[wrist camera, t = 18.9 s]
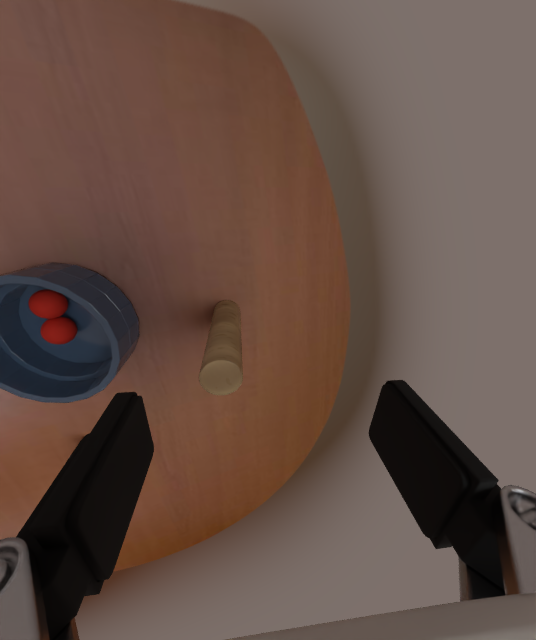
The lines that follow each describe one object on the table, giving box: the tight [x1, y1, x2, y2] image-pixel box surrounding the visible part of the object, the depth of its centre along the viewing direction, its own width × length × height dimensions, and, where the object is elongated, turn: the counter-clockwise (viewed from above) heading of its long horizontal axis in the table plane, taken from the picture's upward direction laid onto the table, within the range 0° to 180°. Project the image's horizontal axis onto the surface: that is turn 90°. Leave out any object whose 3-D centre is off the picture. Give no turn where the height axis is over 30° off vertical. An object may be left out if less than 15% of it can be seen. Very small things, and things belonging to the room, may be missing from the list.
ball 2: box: [40, 317, 77, 344], centre depth 26 cm, size 3×3×3 cm
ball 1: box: [28, 289, 68, 319], centre depth 25 cm, size 3×3×3 cm
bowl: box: [0, 263, 139, 403], centre depth 25 cm, size 13×13×6 cm
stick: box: [199, 300, 243, 395], centre depth 24 cm, size 3×3×13 cm
